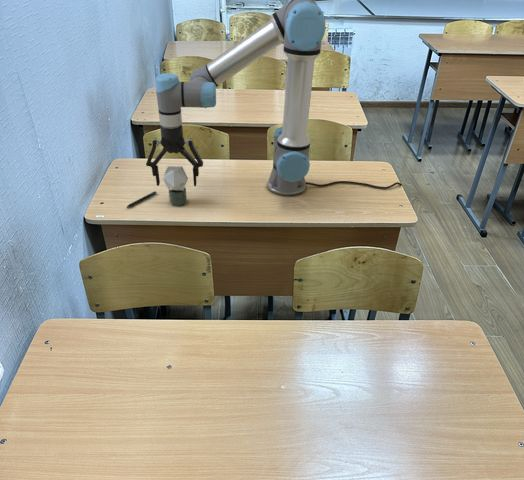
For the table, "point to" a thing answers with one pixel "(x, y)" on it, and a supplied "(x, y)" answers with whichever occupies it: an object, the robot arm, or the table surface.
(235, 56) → the robot arm
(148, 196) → the pen
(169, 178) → the die
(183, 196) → the cup
